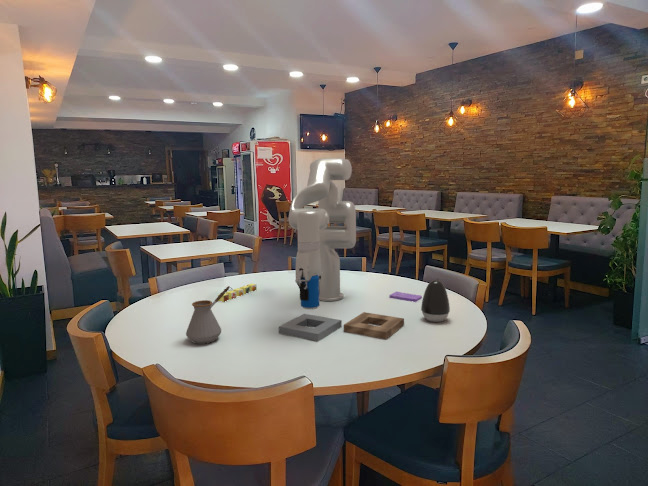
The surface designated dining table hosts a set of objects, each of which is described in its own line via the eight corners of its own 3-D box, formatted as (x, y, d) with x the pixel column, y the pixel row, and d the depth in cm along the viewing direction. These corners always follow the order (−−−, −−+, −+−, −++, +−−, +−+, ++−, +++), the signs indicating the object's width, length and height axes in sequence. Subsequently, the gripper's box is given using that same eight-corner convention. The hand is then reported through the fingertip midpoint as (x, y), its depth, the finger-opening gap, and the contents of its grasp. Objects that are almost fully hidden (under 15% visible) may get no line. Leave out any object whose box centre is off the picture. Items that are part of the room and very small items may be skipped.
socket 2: (343, 331, 157) (343, 324, 157) (363, 318, 171) (363, 312, 170) (386, 339, 149) (386, 332, 149) (404, 325, 162) (404, 318, 162)
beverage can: (317, 310, 154) (316, 276, 152) (298, 309, 155) (298, 275, 154) (321, 305, 160) (320, 272, 159) (303, 304, 162) (302, 271, 160)
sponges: (396, 295, 204) (396, 291, 203) (422, 299, 197) (422, 295, 196) (388, 299, 198) (389, 294, 198) (415, 303, 191) (415, 299, 191)
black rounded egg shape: (450, 316, 171) (451, 277, 169) (448, 325, 161) (449, 284, 159) (422, 314, 174) (423, 275, 172) (419, 323, 165) (420, 282, 162)
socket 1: (278, 333, 157) (278, 326, 156) (304, 320, 170) (304, 313, 170) (318, 341, 148) (318, 334, 148) (341, 326, 162) (341, 320, 162)
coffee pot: (206, 348, 144) (204, 303, 142) (178, 343, 149) (175, 299, 147) (245, 327, 163) (243, 287, 161) (219, 323, 168) (217, 284, 166)
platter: (191, 301, 200) (190, 293, 200) (238, 285, 228) (238, 278, 227) (247, 310, 185) (247, 302, 184) (291, 292, 212) (291, 285, 211)
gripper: (313, 242, 164) (314, 290, 167) (285, 249, 149) (286, 302, 152) (330, 243, 160) (331, 293, 163) (304, 251, 145) (305, 305, 148)
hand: (309, 297), depth 157 cm, fingers closed on beverage can, 6 cm apart
